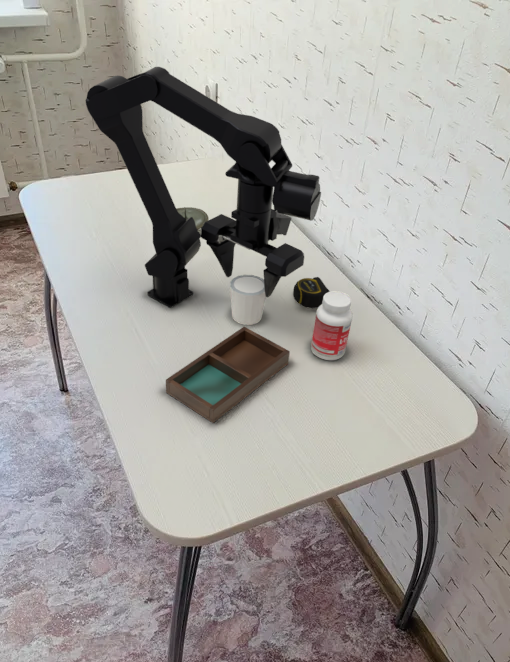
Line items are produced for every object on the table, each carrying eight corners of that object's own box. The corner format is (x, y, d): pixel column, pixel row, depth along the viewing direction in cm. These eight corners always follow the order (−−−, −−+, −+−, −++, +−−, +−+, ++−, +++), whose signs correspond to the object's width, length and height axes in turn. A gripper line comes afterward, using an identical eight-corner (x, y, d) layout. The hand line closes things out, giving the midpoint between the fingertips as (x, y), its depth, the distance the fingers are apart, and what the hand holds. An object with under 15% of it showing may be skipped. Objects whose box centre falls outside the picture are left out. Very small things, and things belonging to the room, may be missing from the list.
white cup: (252, 331, 113) (255, 299, 108) (221, 318, 115) (222, 286, 110) (271, 313, 117) (275, 282, 112) (241, 301, 120) (243, 269, 115)
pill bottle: (341, 365, 107) (352, 312, 100) (306, 356, 108) (315, 304, 101) (347, 344, 112) (358, 293, 104) (314, 336, 113) (323, 285, 105)
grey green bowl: (215, 232, 142) (218, 210, 140) (190, 238, 134) (193, 215, 132) (178, 220, 146) (181, 198, 144) (152, 225, 138) (154, 203, 136)
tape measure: (332, 309, 120) (335, 293, 117) (299, 314, 118) (302, 297, 115) (319, 290, 124) (321, 274, 122) (287, 294, 122) (289, 278, 120)
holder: (165, 392, 99) (165, 379, 97) (243, 338, 111) (244, 326, 109) (213, 423, 95) (213, 410, 93) (288, 363, 106) (289, 351, 105)
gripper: (328, 209, 102) (315, 288, 113) (242, 173, 110) (237, 251, 121) (288, 232, 95) (279, 314, 106) (199, 192, 103) (198, 272, 114)
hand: (248, 286), depth 112 cm, fingers open, 9 cm apart
